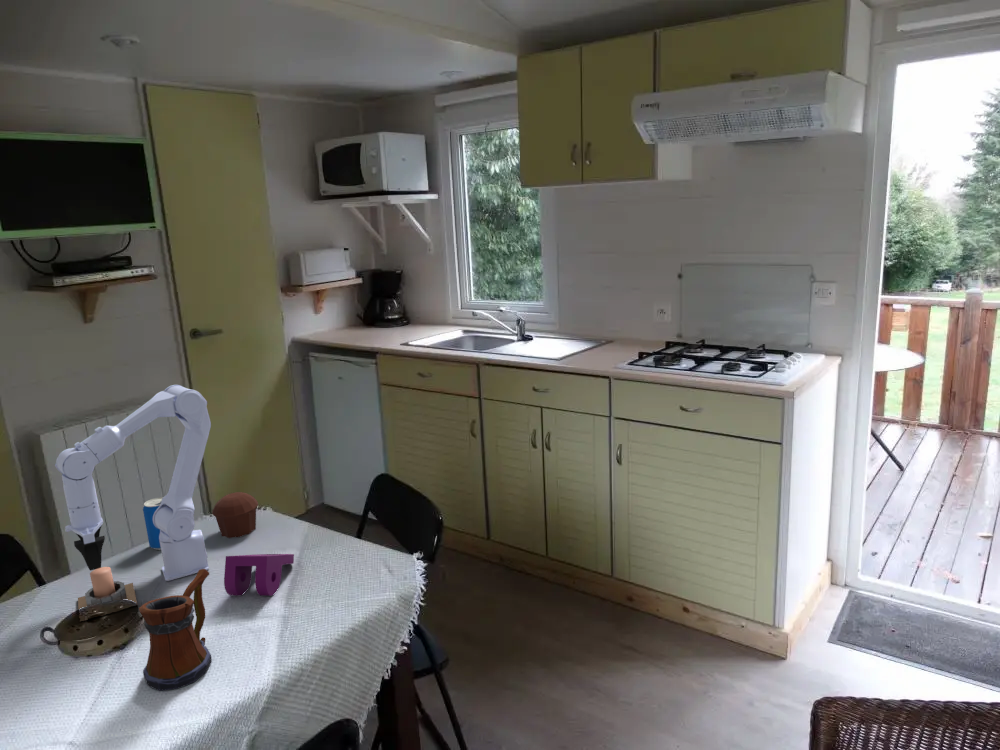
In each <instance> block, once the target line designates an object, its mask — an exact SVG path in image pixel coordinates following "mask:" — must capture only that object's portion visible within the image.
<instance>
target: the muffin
mask: <svg viewBox="0 0 1000 750" xmlns="http://www.w3.org/2000/svg"><path fill="white" fill-rule="evenodd" d="M258 505H259V502H258V500H257V499H256V498H255V496H252V495H251V494H249V493H246V492H241V491H237V492H231V493H228V494H226V495H224V496H223V497H221V498H220V499H219V500H218V501H217V502H216V503H215V505H214V507H213V508H212V509H211V510H212V511H211V515H213V516H214V518H215V520H216V524H217V526H218V530H219V531H220V535H221V537H225V538H227V539H232V538H241V537H244V536H246V535H250V534H251V533H252V532H254V531H255V530H256V529H257V527H256V526H257V508H258Z"/></svg>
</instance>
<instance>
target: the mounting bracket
mask: <svg viewBox="0 0 1000 750" xmlns="http://www.w3.org/2000/svg"><path fill="white" fill-rule="evenodd" d="M294 560H295V554H294V553H266V554H265V553H262V554H261V553H259V554H258V553H257V554H239V555H227V556H225V560H224V561H225V563H224V565H225V566H224V573H223V574H224V576H223V585H224V591H225V592H226V594H227V595H228V596H235V597H236V596H240V597H241V596H243V595H242V594H243V593H244V592H245V591H246V590H247V589H248V588H249V589H250V587H251V586H250V585H251V582H252V574H253V573H252V571H253V567H255V574H254V576H255V577H254V580H255V581H254V585H255V590H256V593H257V595H259V596H263V597H268V596H271V597H272V595H273V594H274V593H275V592H276V591H277V592H278V590H279V589H278V588H280V587H281V580H282V570H283V569H282V568H283V566H284V565H291V564H292V565H293V564H294V562H295V561H294ZM249 589H248V590H249ZM277 589H278V590H277ZM248 590H247V591H248ZM247 591H246V592H247ZM246 592H245V593H246ZM277 592H276V593H277ZM245 593H244V594H245ZM276 593H275V594H276ZM275 594H274V595H275ZM274 595H273V596H274Z"/></svg>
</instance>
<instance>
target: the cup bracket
mask: <svg viewBox="0 0 1000 750" xmlns="http://www.w3.org/2000/svg"><path fill="white" fill-rule="evenodd" d="M113 582H114V587H115V591H116V592H115V593H113V594H111V595H108V596H104V597H98V598H95V595H94V591H93V587H91V588H89V590H87V591H86V592H85V594H84V595H83V596H80V597H77V605H78V607H77V608H78V609H80V608H82V607H86V606H90V605H94V604H97V603H103V602H107V601H114V600H123V599H128V600H132V601H134V602H136V603H137V604H138V601H137V596H136V591H135V587H134V582H131V583H128V584H127V583H126V584H125V582H122V581H118V580H116V581H114V580H113Z"/></svg>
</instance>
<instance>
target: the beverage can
mask: <svg viewBox="0 0 1000 750" xmlns="http://www.w3.org/2000/svg"><path fill="white" fill-rule="evenodd" d="M163 497H164V496H163ZM163 497H154V498H151V499H149V500H146V501H145V502H144V503H143V507H142V511H143V517H144V523H145V529H146V535H147V540H148V544H149V548H151V549H154V550H157V551H158V550H159V551H161V546H160V541H159V535H160V529H158V528H156V527H155V525H154V524H153V515H154V513H155V511H156V510H157V509H158V507H159V506H160V504H161V501H162V498H163Z"/></svg>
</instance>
